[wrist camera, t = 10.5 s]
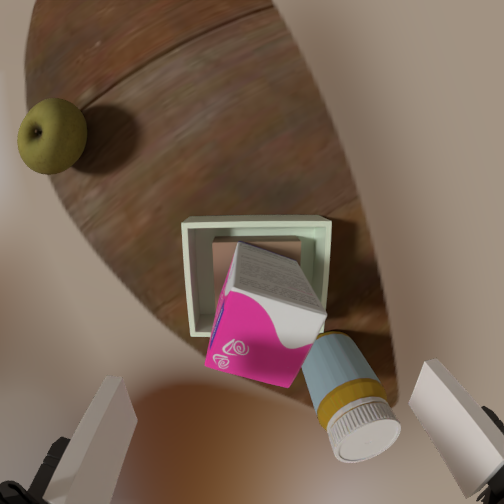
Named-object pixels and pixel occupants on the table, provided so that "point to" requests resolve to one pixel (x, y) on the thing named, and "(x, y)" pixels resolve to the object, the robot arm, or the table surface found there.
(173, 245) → the table surface
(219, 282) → the walnut block
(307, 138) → the table surface
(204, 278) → the box
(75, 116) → the apple
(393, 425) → the bottle
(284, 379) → the supplement box
